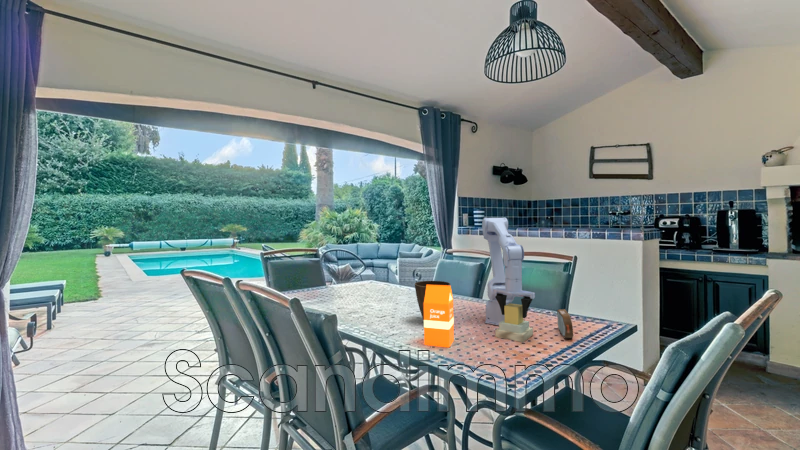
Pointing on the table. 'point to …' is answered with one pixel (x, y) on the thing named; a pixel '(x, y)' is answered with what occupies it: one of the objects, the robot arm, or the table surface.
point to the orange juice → (438, 316)
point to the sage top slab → (514, 327)
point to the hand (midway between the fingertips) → (514, 315)
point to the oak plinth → (514, 335)
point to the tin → (565, 323)
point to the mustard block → (513, 313)
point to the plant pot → (421, 290)
